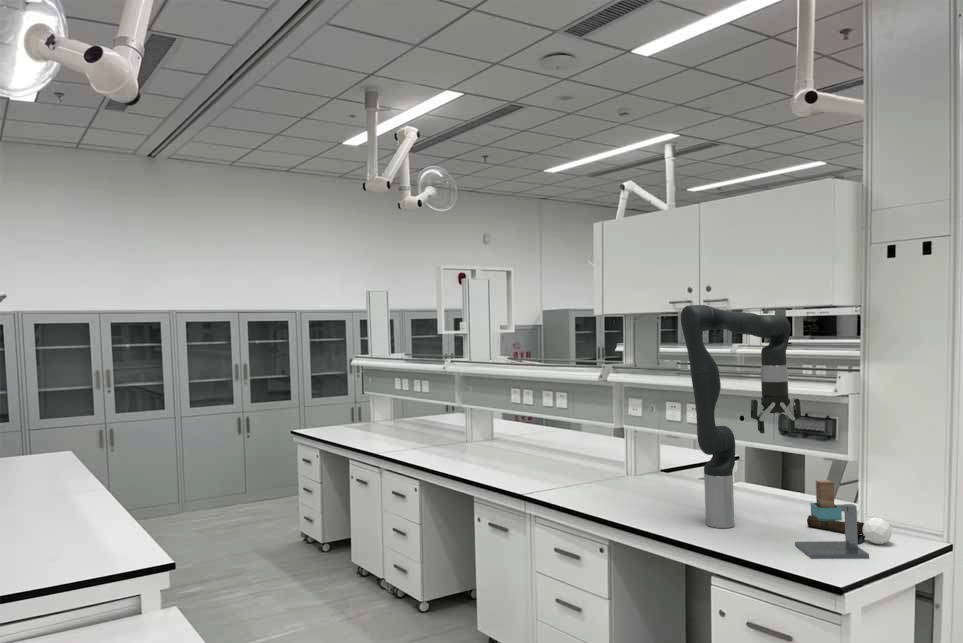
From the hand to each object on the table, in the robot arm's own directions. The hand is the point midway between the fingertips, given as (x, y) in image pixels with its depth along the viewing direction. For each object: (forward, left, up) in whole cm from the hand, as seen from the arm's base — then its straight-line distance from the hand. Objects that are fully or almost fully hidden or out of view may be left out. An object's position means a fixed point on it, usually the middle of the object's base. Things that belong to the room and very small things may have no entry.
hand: (776, 432), depth 209 cm
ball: (-1, +29, -34) cm, 45 cm away
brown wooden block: (+7, +11, -24) cm, 27 cm away
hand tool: (-13, +23, -35) cm, 44 cm away
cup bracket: (+7, +11, -34) cm, 37 cm away
